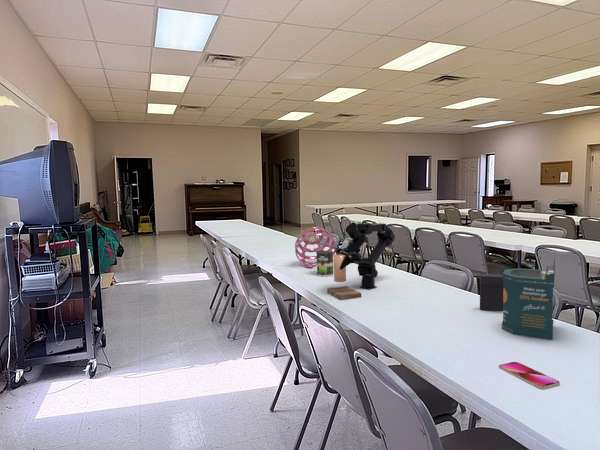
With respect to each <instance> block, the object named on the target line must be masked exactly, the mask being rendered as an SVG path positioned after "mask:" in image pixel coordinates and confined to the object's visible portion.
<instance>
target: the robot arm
mask: <svg viewBox="0 0 600 450" xmlns="http://www.w3.org/2000/svg"><path fill="white" fill-rule="evenodd" d="M345 232H346V234H347V235H348V236H349V238H350V239H351V241H348V242H347V246H346V247H343V248H342V247H337V248H336V249H335V248H334V249H333V252H334V251H335V254H345V257H344V259H343V261H342V263H341V266H340V269H341V270H342V269H343V268H345V267H346V268H347V267H348V266H349V265H351V264H355V265H358V266H357V272H358V275H359V277H360V276H361V285H360V286H359V287H360V288H362V289H365V290H371V289H375V288H378V286H377V285H376V284H375V279H376V278H378V274H379V272H378V270H377V268H376V264H377V262H378V261H379V258H380V256H381V255H382V254H383V252H384V250H385V249H386V247H388V246H390V245H392V243H394V241H395V238H396V237H395V236H396V235H395V234H394V232H393V230H392V229H391V228H390V227H389V226H388V225H387V224H386V223H383V222H382V223H380V222H379V223H364V222H362V223H361V222H358V223H357V222H354V221H353V222H351V224H349V225H347V226H346V227H345ZM373 232H374V233H375V232H376V237H377V243H376V244H375V246H374V247H373V249H372V251H371V252H370V253H369V255H368V256H367V257H362V254H361V247H362V246H363V245H364V244H365V243H367V244H369V238H368V237H367V236H366V235H371V234H372V233H373Z"/></svg>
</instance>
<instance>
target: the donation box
mask: <svg viewBox="0 0 600 450" xmlns="http://www.w3.org/2000/svg"><path fill="white" fill-rule="evenodd" d="M553 254H554V255H553V264H552V265H546V270H545V269H535V268H534V269H533V268H532V269H531V268H520V267H519V268H509V269H508V268H507V269H504V271H503V273H502V275H503V280H504V292H503V312H502V322H501V329H502V330H503V331H505V332H508V333H509V334H512V335H515V336H521V337H528V338H535V339H542V340H548V341H553V340H554V339H553V337H554V336H553V335H554V319H553V309H554V308H553V306H554V305H553V303H554V288H555V278H556V277H555V276H556V275H555V274H556V273H555V272H556V271H555V269H556V252H554V253H553Z"/></svg>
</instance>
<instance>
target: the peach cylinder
mask: <svg viewBox="0 0 600 450" xmlns="http://www.w3.org/2000/svg"><path fill="white" fill-rule="evenodd" d="M344 257H345V254H336V253H335V254H334V255H333V274H334V275H333V280H334V281H333V282H335V283H344V282H346V281H347V266H346V267H345V268H343V269H342V270H341V269H340V266H341V263H342V261H343V259H344Z"/></svg>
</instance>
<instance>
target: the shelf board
mask: <svg viewBox="0 0 600 450" xmlns="http://www.w3.org/2000/svg"><path fill="white" fill-rule="evenodd" d="M326 289H327V290H326V291H327V294H330V296H331V295H332V296H333V297H335V298H336V299H338V300H339V301H344V300H346V301H347V300H351V299H360V298H362V293H361V292H360V291H357V290H356V289H353V288H352V287H349V286H348V285H344V286H336V287H328V288H326Z"/></svg>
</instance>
